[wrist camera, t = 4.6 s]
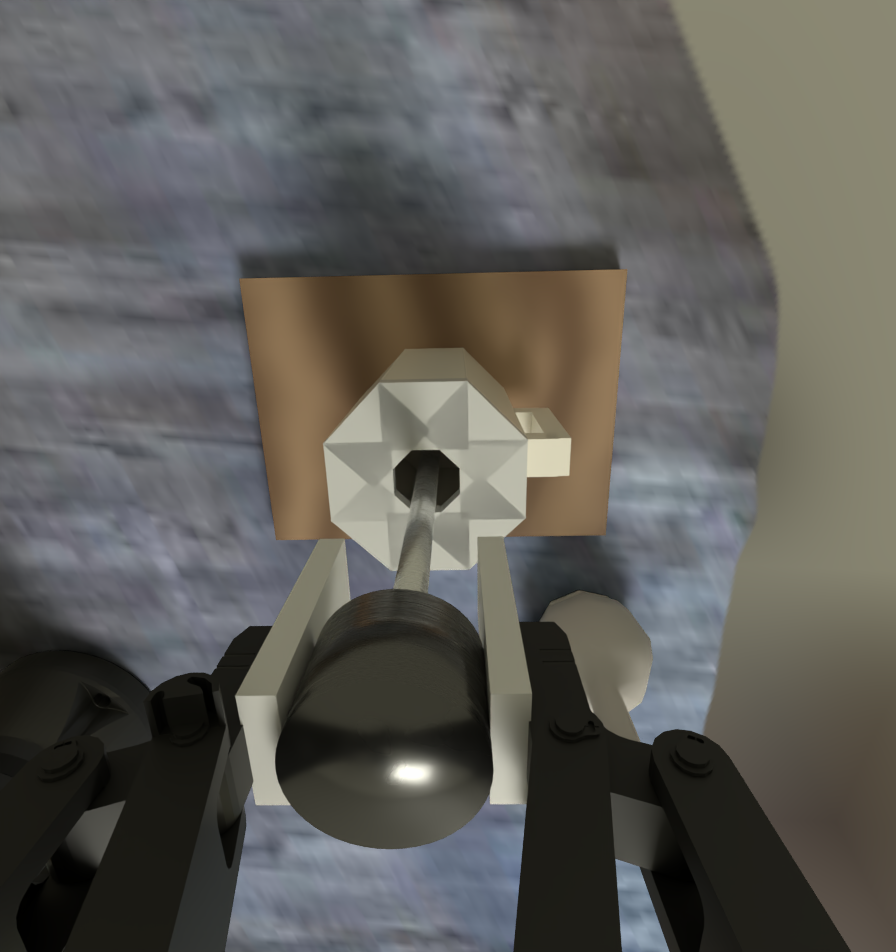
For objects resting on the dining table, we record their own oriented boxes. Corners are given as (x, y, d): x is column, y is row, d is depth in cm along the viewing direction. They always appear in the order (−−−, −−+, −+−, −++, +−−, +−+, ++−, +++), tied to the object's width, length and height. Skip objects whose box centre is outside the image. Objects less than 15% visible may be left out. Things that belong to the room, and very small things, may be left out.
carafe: (373, 480, 38) (335, 571, 26) (364, 349, 35) (316, 383, 23) (539, 478, 38) (578, 568, 26) (544, 345, 35) (591, 377, 23)
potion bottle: (542, 570, 42) (601, 764, 25) (651, 593, 43) (780, 799, 26) (511, 661, 45) (546, 890, 28) (614, 682, 45) (708, 919, 29)
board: (282, 531, 41) (276, 540, 40) (248, 278, 35) (239, 278, 34) (600, 526, 41) (605, 535, 39) (620, 269, 35) (627, 269, 33)
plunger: (395, 488, 29) (288, 849, 11) (391, 415, 28) (260, 682, 9) (469, 486, 29) (493, 848, 11) (468, 414, 28) (493, 680, 9)
